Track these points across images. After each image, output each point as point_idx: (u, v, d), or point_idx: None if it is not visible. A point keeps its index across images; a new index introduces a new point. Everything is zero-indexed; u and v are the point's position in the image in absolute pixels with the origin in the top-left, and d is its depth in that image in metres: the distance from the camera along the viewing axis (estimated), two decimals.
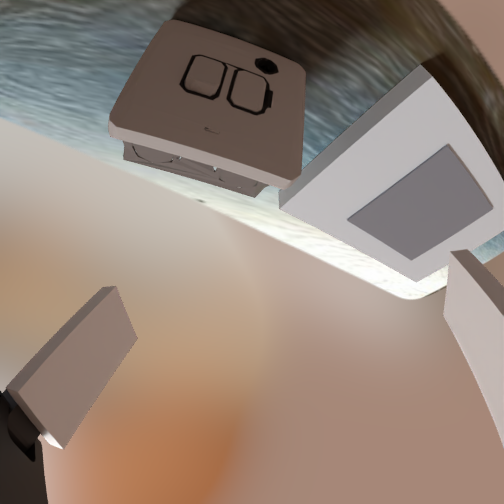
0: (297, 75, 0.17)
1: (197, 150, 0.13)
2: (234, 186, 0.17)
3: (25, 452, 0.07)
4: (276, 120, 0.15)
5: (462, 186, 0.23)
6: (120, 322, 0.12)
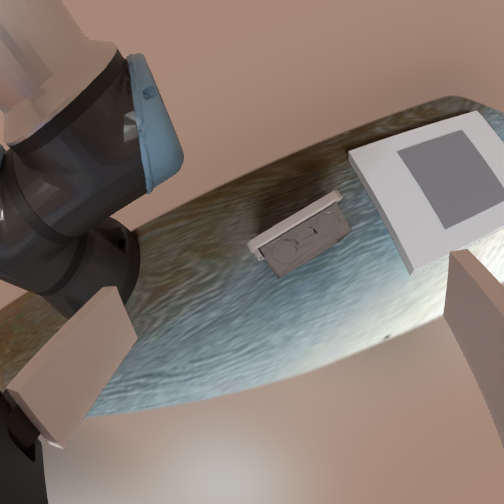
0: None
1: (290, 217, 0.27)
2: (335, 233, 0.27)
3: (25, 452, 0.07)
4: None
5: (434, 147, 0.33)
6: (120, 322, 0.12)
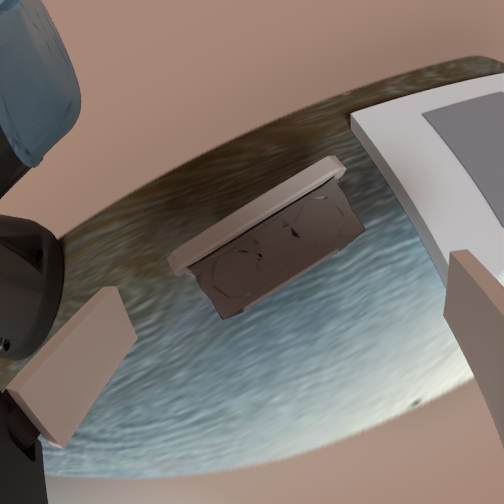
0: None
1: (245, 208, 0.14)
2: (334, 236, 0.14)
3: (25, 452, 0.07)
4: None
5: (472, 110, 0.20)
6: (120, 322, 0.12)
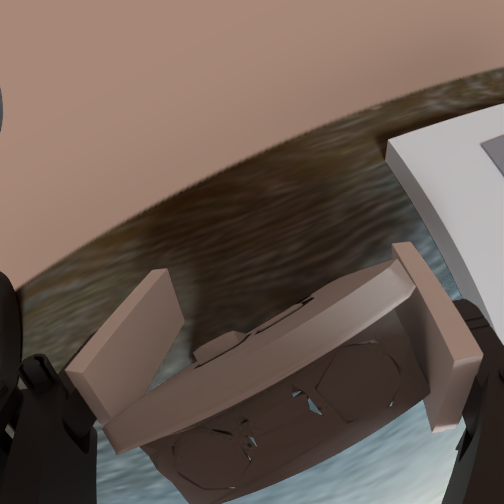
0: (333, 281, 0.14)
1: (223, 374, 0.07)
2: (381, 408, 0.07)
3: (78, 441, 0.07)
4: None
5: None
6: (171, 304, 0.13)
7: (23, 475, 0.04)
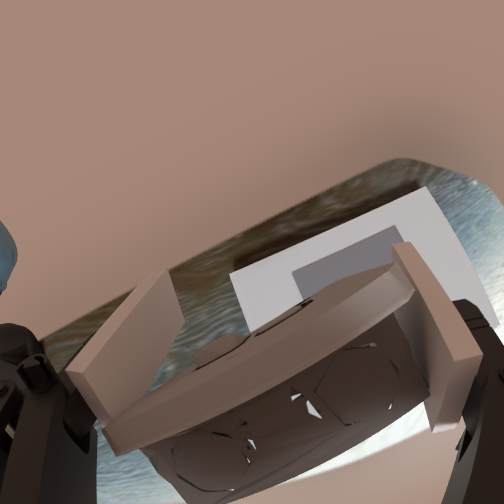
0: (332, 283, 0.14)
1: (222, 378, 0.07)
2: (380, 412, 0.07)
3: (78, 441, 0.07)
4: None
5: (347, 262, 0.29)
6: (171, 304, 0.13)
7: (23, 475, 0.04)
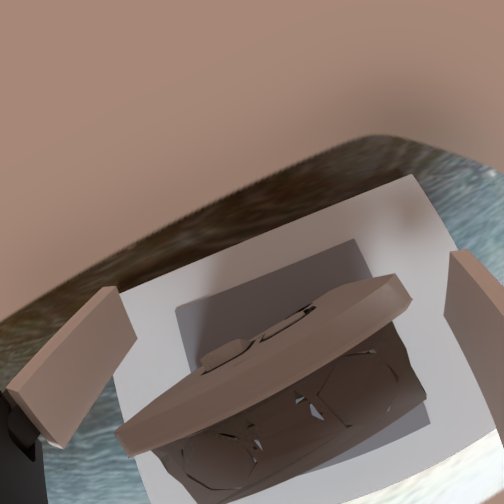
0: (334, 289, 0.15)
1: (230, 383, 0.07)
2: (379, 414, 0.07)
3: (25, 452, 0.07)
4: None
5: (262, 298, 0.17)
6: (120, 322, 0.12)
7: None
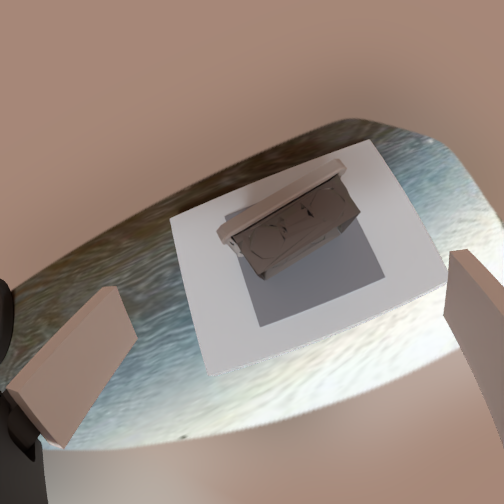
0: None
1: (275, 194, 0.19)
2: (338, 216, 0.20)
3: (25, 452, 0.07)
4: None
5: None
6: (120, 322, 0.12)
7: None
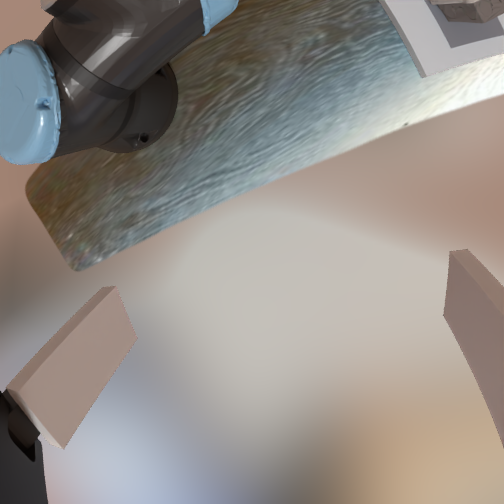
0: None
1: None
2: None
3: (25, 452, 0.07)
4: None
5: None
6: (120, 322, 0.12)
7: None
